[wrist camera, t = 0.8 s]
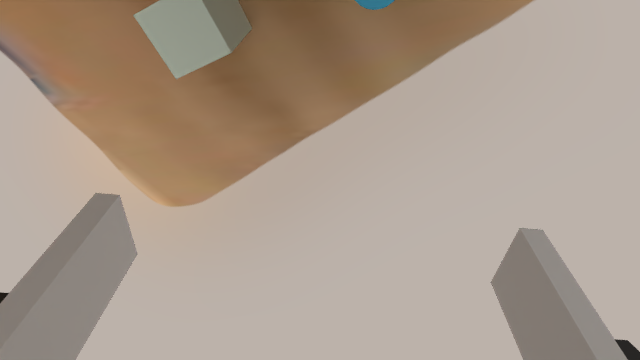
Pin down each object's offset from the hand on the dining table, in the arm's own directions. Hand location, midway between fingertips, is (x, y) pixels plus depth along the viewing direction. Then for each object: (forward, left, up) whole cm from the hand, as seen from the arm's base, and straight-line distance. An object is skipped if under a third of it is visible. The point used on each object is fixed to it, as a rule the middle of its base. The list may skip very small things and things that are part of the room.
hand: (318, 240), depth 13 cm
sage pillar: (-7, -9, -26) cm, 28 cm away
